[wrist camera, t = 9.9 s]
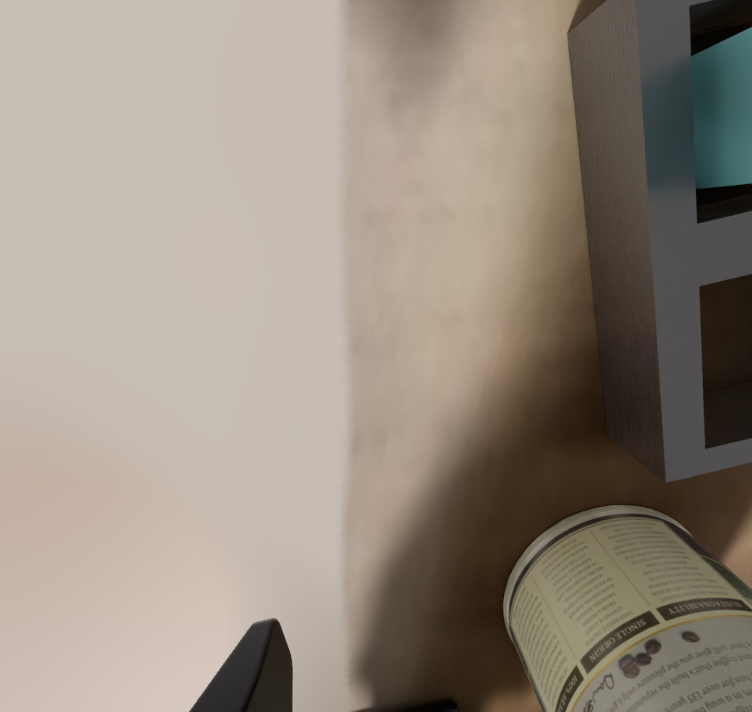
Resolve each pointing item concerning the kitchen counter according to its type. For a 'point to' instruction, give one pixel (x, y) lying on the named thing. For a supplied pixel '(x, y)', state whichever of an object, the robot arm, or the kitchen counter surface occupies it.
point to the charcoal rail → (656, 233)
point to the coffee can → (629, 617)
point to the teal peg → (723, 112)
